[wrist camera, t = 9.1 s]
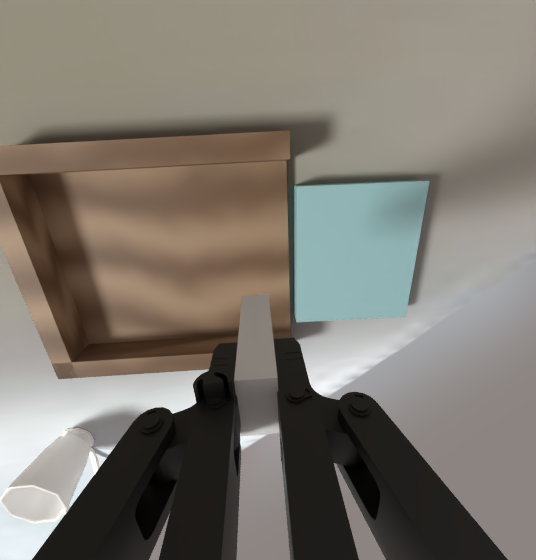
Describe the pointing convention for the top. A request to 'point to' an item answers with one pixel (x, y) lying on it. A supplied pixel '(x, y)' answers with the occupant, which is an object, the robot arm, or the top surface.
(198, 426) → the robot arm
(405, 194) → the cover plate
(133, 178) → the walnut box
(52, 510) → the cup
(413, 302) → the top surface
